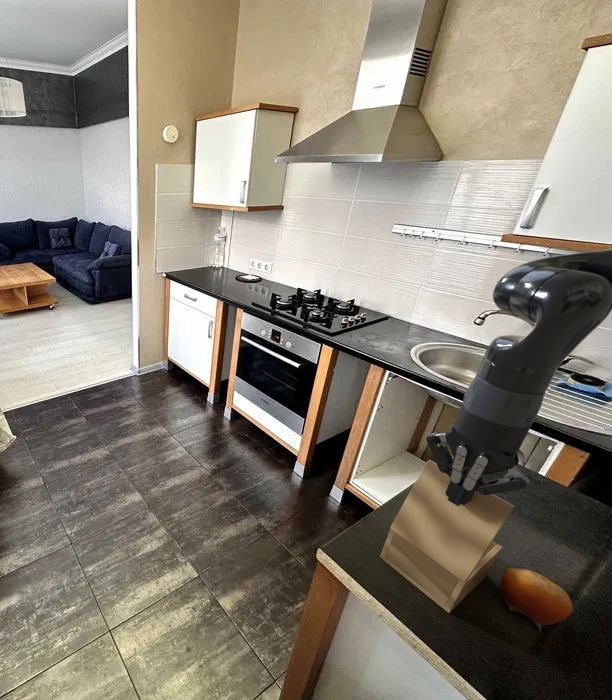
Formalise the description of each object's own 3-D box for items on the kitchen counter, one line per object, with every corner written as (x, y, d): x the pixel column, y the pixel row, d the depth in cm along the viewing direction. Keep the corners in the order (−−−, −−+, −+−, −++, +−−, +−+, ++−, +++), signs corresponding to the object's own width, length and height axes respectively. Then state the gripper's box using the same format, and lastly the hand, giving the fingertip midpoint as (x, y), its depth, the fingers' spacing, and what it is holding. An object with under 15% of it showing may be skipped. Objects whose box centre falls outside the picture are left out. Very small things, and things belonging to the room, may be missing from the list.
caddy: (418, 527, 77) (429, 501, 74) (487, 575, 68) (503, 547, 65) (379, 557, 71) (390, 529, 68) (448, 613, 61) (464, 584, 58)
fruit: (494, 610, 61) (513, 564, 60) (489, 596, 67) (507, 555, 66) (565, 650, 55) (586, 601, 55) (553, 632, 61) (572, 587, 61)
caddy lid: (429, 459, 64) (428, 459, 64) (515, 506, 55) (513, 506, 55) (391, 527, 68) (389, 528, 67) (466, 582, 59) (464, 583, 58)
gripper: (572, 426, 49) (518, 522, 56) (456, 383, 59) (423, 468, 66) (550, 443, 46) (495, 543, 53) (431, 394, 56) (399, 483, 63)
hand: (455, 501), depth 60 cm, fingers closed
